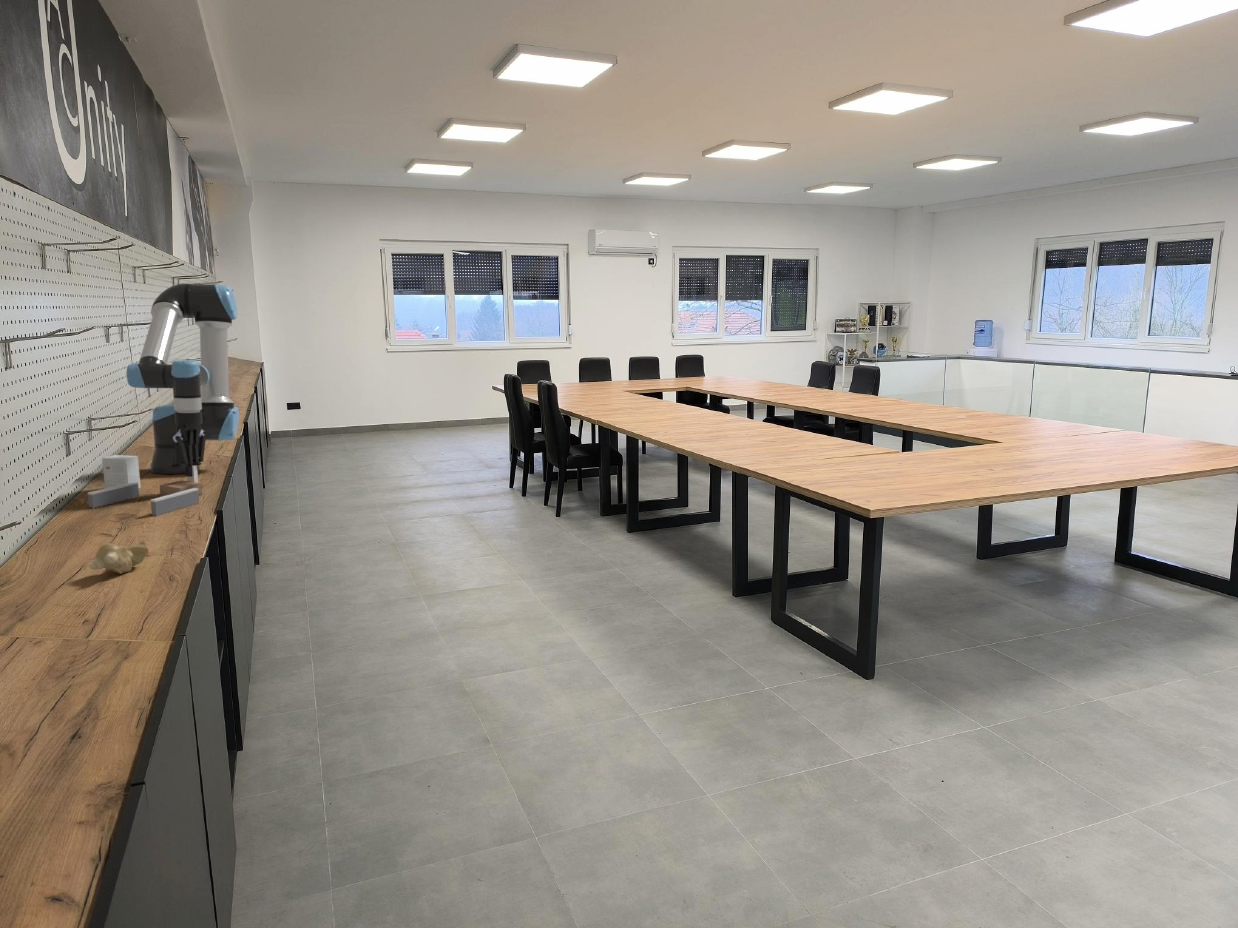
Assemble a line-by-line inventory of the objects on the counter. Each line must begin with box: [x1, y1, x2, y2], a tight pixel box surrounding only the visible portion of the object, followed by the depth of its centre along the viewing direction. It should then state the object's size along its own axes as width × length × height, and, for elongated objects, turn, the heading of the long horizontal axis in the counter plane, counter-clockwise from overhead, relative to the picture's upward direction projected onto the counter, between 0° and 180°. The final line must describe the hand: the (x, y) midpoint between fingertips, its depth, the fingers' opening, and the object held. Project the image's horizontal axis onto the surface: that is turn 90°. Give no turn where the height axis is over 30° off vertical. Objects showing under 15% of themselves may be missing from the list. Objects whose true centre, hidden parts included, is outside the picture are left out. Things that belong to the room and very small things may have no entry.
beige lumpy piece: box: [88, 540, 150, 574], centre depth 177 cm, size 8×7×12 cm
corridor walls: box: [87, 482, 200, 517], centre depth 233 cm, size 16×23×4 cm
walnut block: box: [159, 480, 203, 497], centre depth 246 cm, size 8×8×4 cm
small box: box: [101, 454, 141, 490], centre depth 250 cm, size 8×6×10 cm
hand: (192, 485), depth 251 cm, fingers closed
